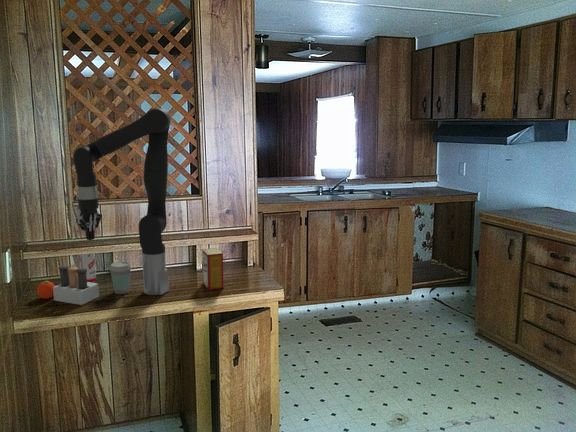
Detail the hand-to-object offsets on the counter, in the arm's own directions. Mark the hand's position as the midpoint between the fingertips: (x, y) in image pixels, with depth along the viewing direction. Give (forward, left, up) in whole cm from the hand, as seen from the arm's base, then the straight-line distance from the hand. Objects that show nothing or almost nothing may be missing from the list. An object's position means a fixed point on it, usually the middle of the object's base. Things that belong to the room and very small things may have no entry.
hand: (90, 239), depth 211 cm
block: (+3, +7, -23) cm, 24 cm away
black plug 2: (-1, +8, -18) cm, 20 cm away
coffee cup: (-9, -6, -23) cm, 26 cm away
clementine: (+14, +11, -23) cm, 29 cm away
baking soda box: (-41, -26, -23) cm, 54 cm away
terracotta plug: (+3, +8, -18) cm, 20 cm away
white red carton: (+12, -11, -23) cm, 28 cm away
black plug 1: (+7, +8, -18) cm, 21 cm away
